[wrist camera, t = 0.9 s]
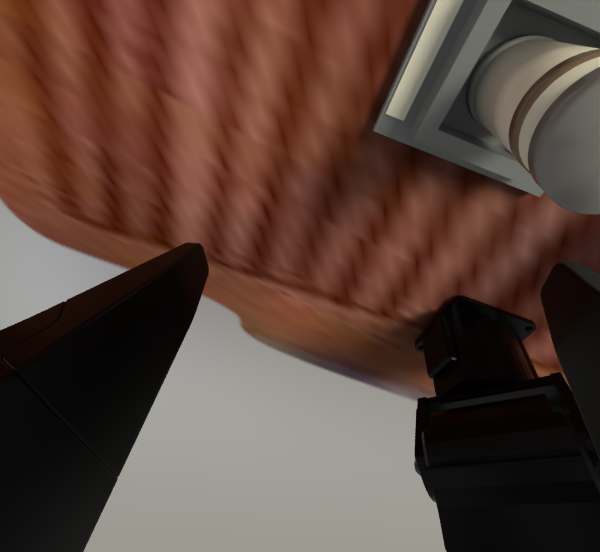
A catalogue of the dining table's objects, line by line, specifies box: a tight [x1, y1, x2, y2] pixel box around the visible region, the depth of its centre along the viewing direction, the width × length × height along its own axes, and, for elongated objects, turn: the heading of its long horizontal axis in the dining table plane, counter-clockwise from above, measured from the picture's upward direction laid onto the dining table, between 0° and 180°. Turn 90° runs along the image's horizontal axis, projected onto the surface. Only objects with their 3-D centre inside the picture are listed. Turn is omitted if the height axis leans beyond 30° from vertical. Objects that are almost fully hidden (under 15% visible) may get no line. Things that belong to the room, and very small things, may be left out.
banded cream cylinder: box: [466, 35, 600, 214], centre depth 12 cm, size 4×4×9 cm
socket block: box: [373, 0, 600, 197], centre depth 15 cm, size 10×8×3 cm
